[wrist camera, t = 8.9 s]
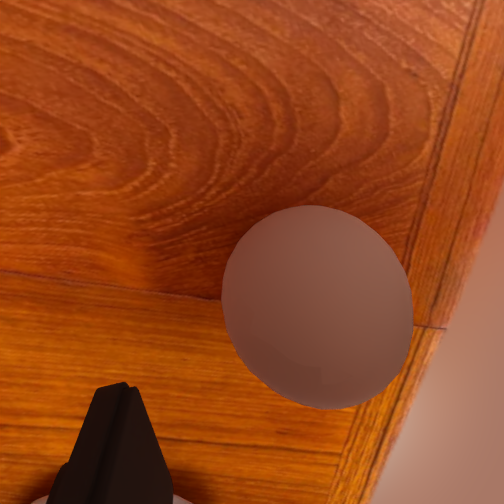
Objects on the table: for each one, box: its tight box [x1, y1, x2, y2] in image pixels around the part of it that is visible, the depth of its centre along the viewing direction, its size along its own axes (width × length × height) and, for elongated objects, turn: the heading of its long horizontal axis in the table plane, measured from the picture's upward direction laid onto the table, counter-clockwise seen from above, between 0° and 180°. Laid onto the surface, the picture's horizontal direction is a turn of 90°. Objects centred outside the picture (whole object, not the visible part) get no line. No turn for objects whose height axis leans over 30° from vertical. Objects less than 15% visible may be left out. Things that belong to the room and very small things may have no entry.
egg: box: [221, 205, 413, 409], centre depth 12 cm, size 5×5×7 cm
